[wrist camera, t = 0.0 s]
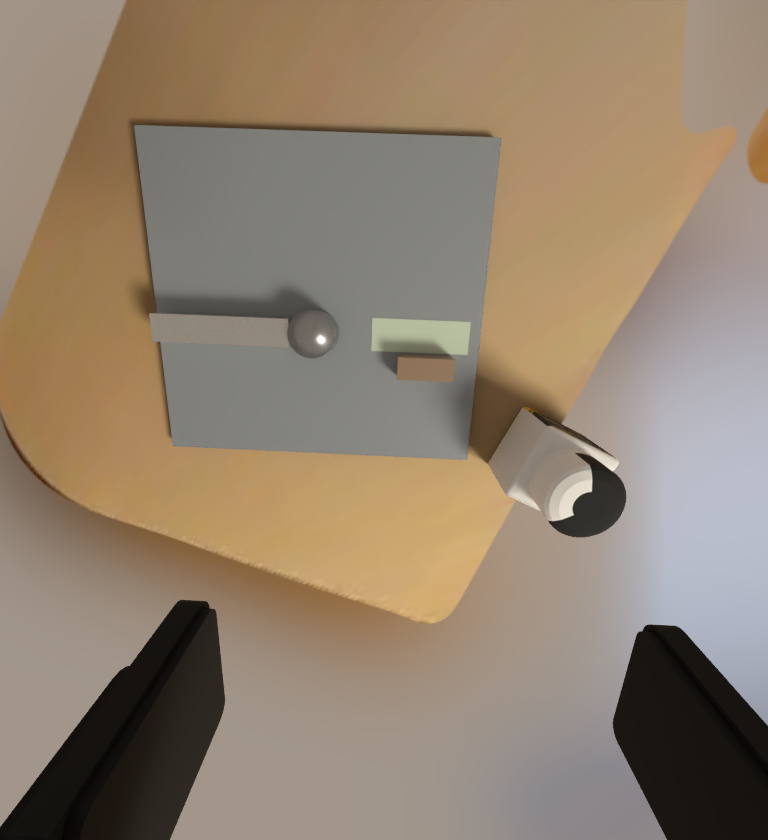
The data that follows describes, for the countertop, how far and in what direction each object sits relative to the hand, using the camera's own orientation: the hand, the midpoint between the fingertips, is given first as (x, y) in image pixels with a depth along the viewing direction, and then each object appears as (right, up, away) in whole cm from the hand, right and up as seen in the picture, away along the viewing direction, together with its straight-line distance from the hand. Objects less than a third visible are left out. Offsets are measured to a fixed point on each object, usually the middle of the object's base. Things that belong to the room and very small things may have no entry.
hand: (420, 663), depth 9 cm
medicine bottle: (+15, +2, +32) cm, 35 cm away
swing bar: (-13, +14, +27) cm, 33 cm away
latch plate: (-7, +16, +28) cm, 33 cm away
